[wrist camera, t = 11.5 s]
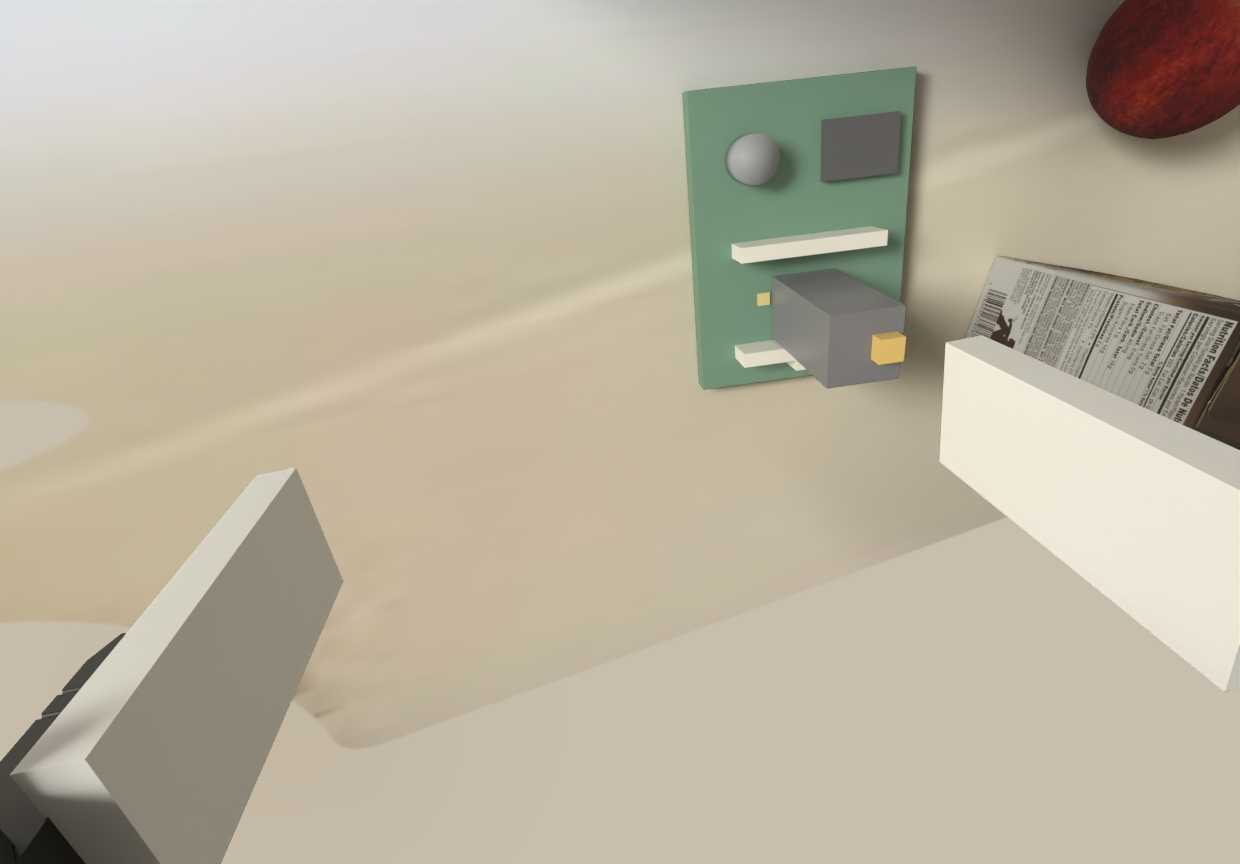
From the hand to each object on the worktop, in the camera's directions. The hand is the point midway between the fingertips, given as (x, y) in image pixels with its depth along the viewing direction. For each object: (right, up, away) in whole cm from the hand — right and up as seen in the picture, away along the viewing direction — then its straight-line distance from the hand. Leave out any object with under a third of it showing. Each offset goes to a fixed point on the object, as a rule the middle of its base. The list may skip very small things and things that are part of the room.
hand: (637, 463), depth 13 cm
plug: (+10, +8, +25) cm, 28 cm away
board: (+10, +12, +24) cm, 29 cm away
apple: (+27, +21, +23) cm, 41 cm away
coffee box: (+26, +8, +28) cm, 39 cm away
